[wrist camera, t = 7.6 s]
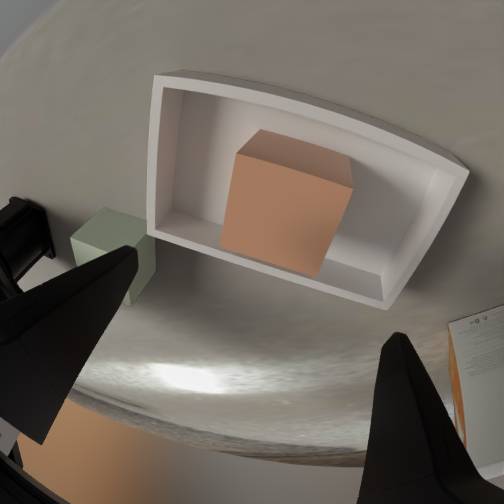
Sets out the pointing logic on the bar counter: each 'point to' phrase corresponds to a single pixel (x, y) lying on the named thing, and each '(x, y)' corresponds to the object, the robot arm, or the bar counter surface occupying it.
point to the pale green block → (117, 245)
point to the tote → (312, 131)
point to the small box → (479, 387)
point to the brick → (286, 201)
